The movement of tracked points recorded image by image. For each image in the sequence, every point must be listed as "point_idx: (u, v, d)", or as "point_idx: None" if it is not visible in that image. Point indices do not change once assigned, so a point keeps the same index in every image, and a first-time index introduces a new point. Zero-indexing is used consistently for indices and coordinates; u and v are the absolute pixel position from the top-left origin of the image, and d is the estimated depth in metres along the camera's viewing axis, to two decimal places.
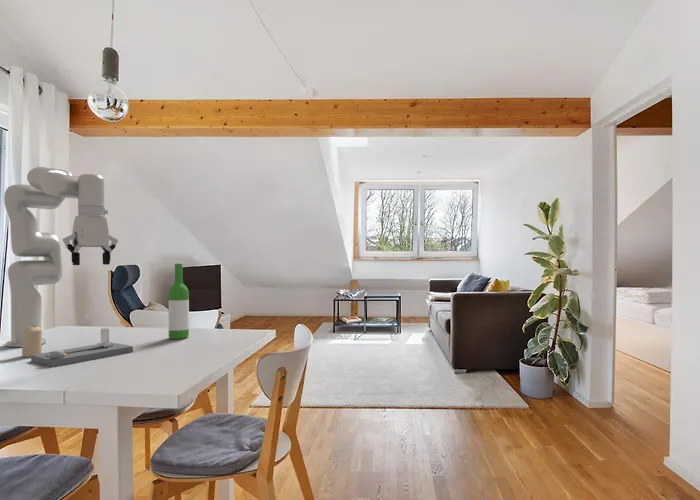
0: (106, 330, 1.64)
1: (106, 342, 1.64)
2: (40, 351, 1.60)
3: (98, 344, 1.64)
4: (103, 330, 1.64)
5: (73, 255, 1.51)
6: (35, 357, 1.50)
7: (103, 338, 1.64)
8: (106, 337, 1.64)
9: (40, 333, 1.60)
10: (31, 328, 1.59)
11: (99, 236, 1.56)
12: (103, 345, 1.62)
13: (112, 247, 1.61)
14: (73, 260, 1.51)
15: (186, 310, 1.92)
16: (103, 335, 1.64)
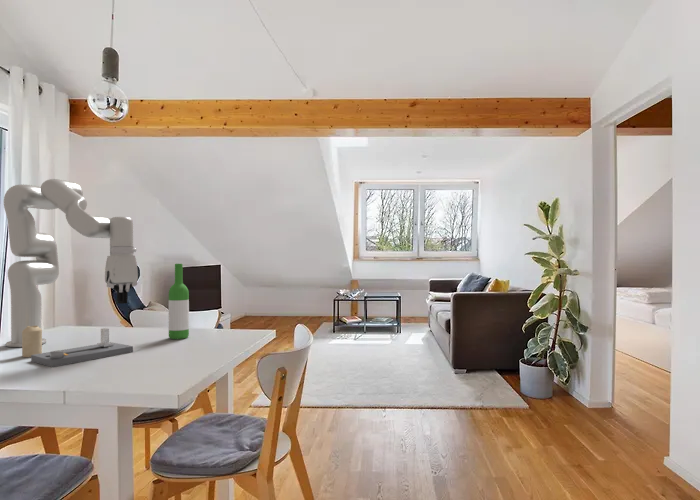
0: (106, 330, 1.64)
1: (106, 342, 1.64)
2: (40, 351, 1.60)
3: (98, 344, 1.64)
4: (103, 330, 1.64)
5: (119, 294, 1.68)
6: (35, 357, 1.50)
7: (103, 338, 1.64)
8: (106, 337, 1.64)
9: (40, 333, 1.60)
10: (31, 328, 1.59)
11: (129, 273, 1.69)
12: (103, 345, 1.62)
13: None
14: (119, 299, 1.68)
15: (186, 310, 1.92)
16: (103, 335, 1.64)
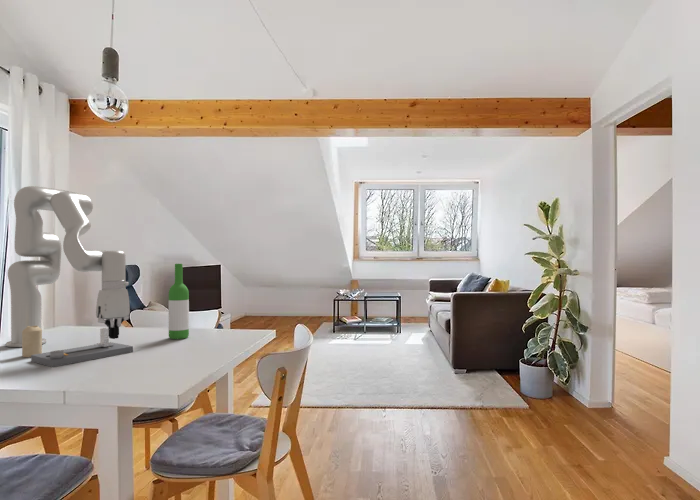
0: (106, 330, 1.64)
1: (106, 342, 1.64)
2: (40, 351, 1.60)
3: (98, 344, 1.64)
4: (103, 330, 1.63)
5: (110, 330, 1.66)
6: (35, 357, 1.50)
7: (103, 338, 1.63)
8: (105, 337, 1.64)
9: (40, 333, 1.60)
10: (31, 328, 1.59)
11: (121, 308, 1.67)
12: (103, 345, 1.62)
13: (121, 321, 1.69)
14: (110, 334, 1.66)
15: (186, 310, 1.92)
16: (102, 335, 1.64)
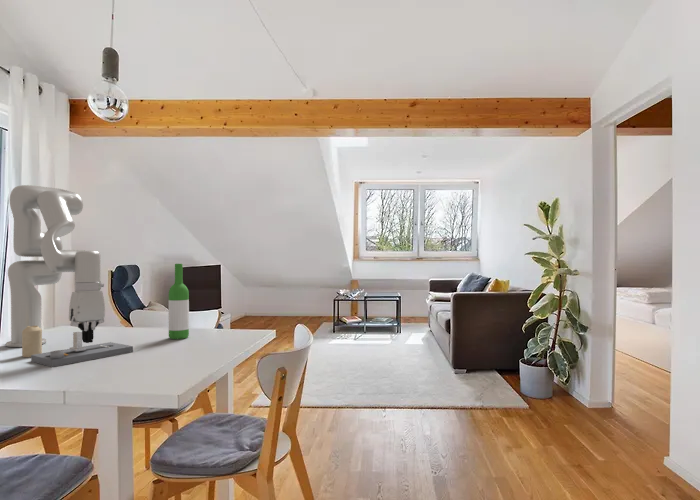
0: (79, 334, 1.56)
1: (79, 346, 1.56)
2: (40, 351, 1.60)
3: (70, 348, 1.56)
4: (75, 334, 1.56)
5: (83, 333, 1.58)
6: (35, 357, 1.50)
7: (75, 342, 1.56)
8: (78, 341, 1.56)
9: (40, 333, 1.60)
10: (31, 328, 1.59)
11: (95, 310, 1.60)
12: (75, 350, 1.55)
13: (95, 324, 1.61)
14: (83, 338, 1.58)
15: (186, 310, 1.92)
16: (75, 339, 1.56)
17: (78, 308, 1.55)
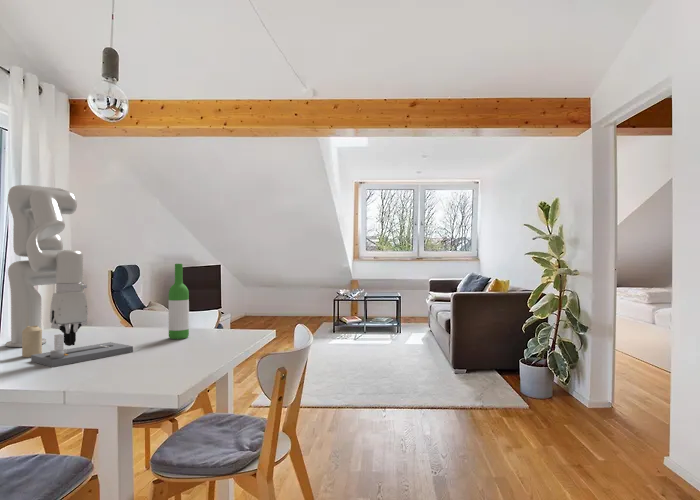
0: (60, 336, 1.51)
1: (60, 349, 1.51)
2: (40, 351, 1.60)
3: None
4: (57, 336, 1.51)
5: (65, 336, 1.54)
6: (35, 357, 1.50)
7: (57, 345, 1.51)
8: (59, 344, 1.51)
9: (40, 333, 1.60)
10: (31, 328, 1.59)
11: (77, 312, 1.55)
12: None
13: (78, 326, 1.56)
14: (65, 341, 1.54)
15: (186, 310, 1.92)
16: (56, 342, 1.51)
17: (59, 310, 1.50)
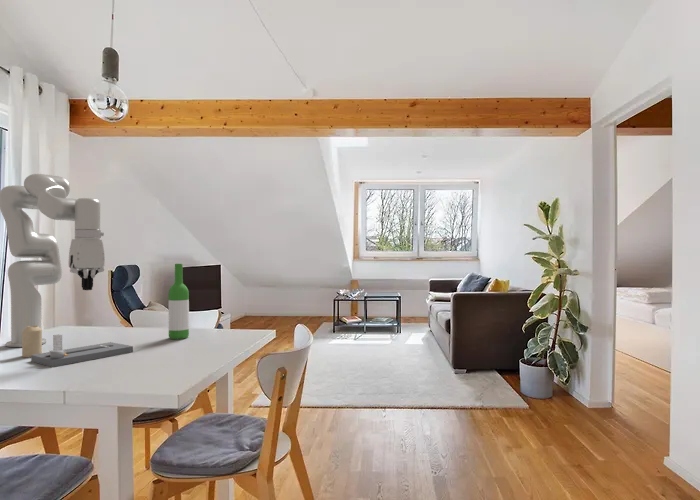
0: (59, 337, 1.51)
1: None
2: (40, 351, 1.60)
3: None
4: (55, 337, 1.51)
5: (83, 281, 1.59)
6: (35, 357, 1.50)
7: (55, 345, 1.51)
8: (58, 344, 1.51)
9: (40, 333, 1.60)
10: (31, 328, 1.59)
11: (95, 258, 1.60)
12: None
13: (95, 272, 1.62)
14: (83, 285, 1.59)
15: (186, 310, 1.92)
16: (55, 342, 1.51)
17: (78, 254, 1.56)
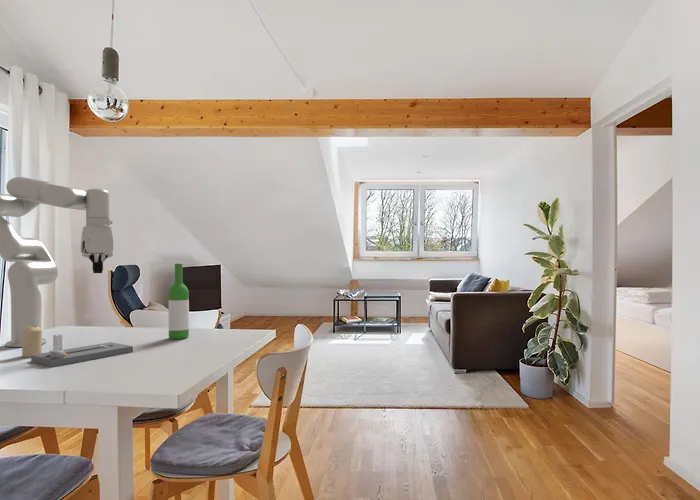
0: (59, 337, 1.51)
1: None
2: (40, 351, 1.60)
3: None
4: (55, 337, 1.51)
5: (94, 264, 1.73)
6: (35, 357, 1.50)
7: (55, 345, 1.51)
8: (58, 344, 1.51)
9: (40, 333, 1.60)
10: (31, 328, 1.59)
11: (105, 244, 1.75)
12: None
13: (105, 257, 1.76)
14: (94, 269, 1.73)
15: (186, 310, 1.92)
16: (55, 342, 1.51)
17: (89, 240, 1.70)
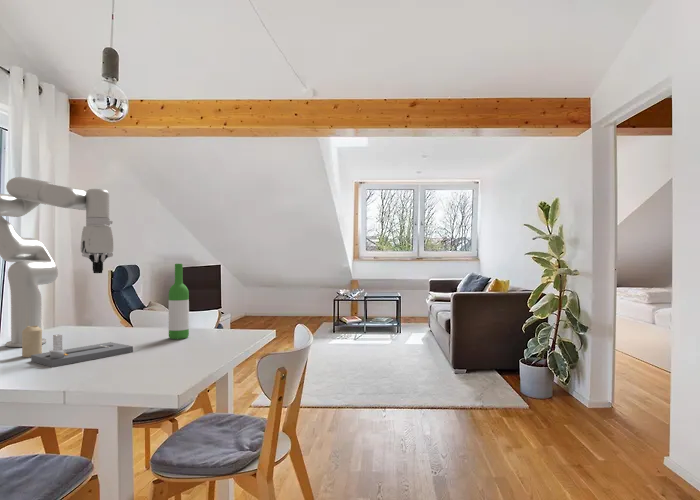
0: (59, 337, 1.51)
1: None
2: (40, 351, 1.60)
3: None
4: (55, 337, 1.51)
5: (94, 264, 1.73)
6: (35, 357, 1.50)
7: (55, 345, 1.51)
8: (58, 344, 1.51)
9: (40, 333, 1.60)
10: (31, 328, 1.59)
11: (105, 244, 1.75)
12: None
13: (105, 257, 1.76)
14: (94, 269, 1.73)
15: (186, 310, 1.92)
16: (55, 342, 1.51)
17: (89, 240, 1.70)
